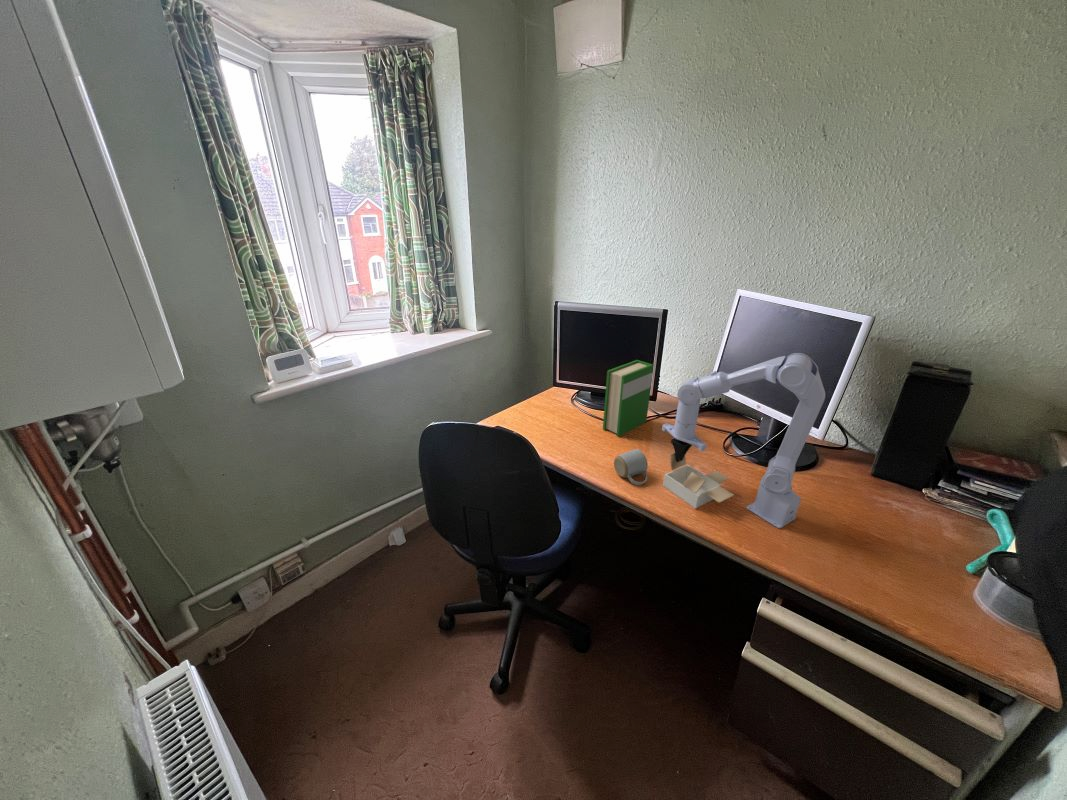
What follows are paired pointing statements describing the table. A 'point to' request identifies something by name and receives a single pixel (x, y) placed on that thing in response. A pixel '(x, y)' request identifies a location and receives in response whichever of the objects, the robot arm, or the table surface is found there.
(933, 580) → the table surface
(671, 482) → the carton
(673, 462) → the far flap
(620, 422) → the hardback book
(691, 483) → the left flap
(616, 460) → the ceramic mug
